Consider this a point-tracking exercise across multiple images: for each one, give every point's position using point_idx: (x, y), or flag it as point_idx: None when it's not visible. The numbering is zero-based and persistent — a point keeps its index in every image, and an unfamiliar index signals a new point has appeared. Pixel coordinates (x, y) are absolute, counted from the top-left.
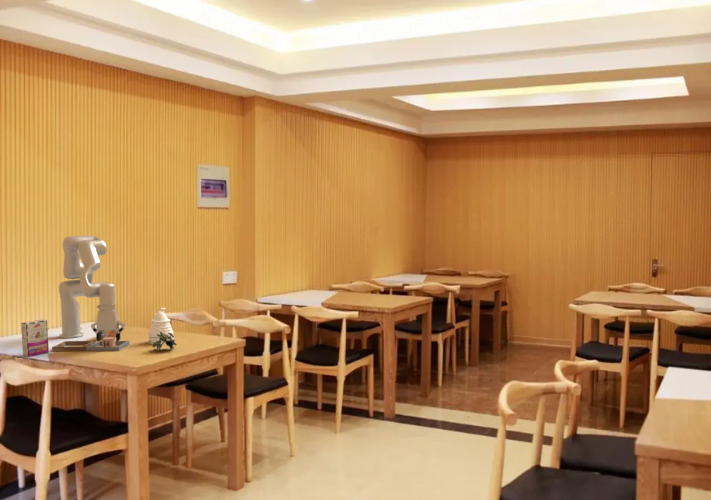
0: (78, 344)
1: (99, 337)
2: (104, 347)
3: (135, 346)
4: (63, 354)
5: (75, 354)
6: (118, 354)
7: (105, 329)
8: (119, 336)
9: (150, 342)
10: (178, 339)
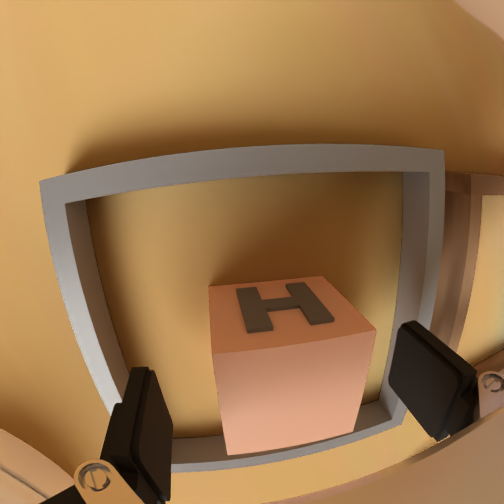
0: (487, 361)
1: (417, 372)
2: (239, 147)
3: (46, 386)
4: (491, 58)
5: (432, 26)
6: (23, 22)
7: (396, 477)
8: (112, 432)
9: (26, 451)
10: None
